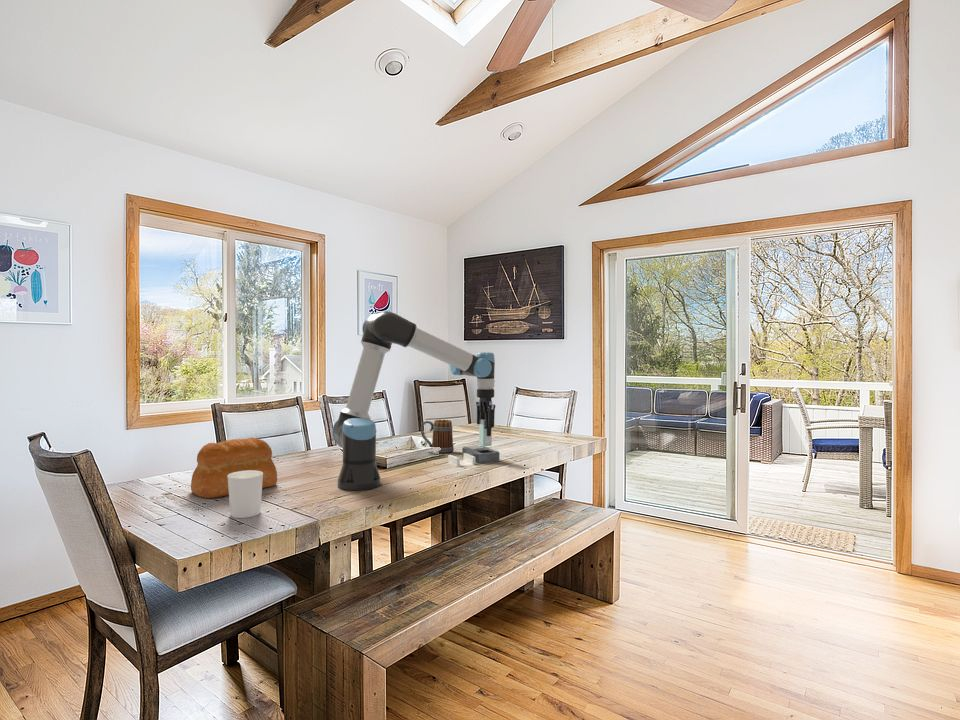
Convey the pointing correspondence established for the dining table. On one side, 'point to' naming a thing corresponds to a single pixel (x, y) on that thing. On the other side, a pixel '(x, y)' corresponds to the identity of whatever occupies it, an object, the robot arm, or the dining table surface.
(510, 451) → the dining table surface
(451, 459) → the holster
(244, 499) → the candle holder
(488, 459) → the port panel
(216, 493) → the bread
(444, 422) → the mug
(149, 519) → the dining table surface
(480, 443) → the plug
